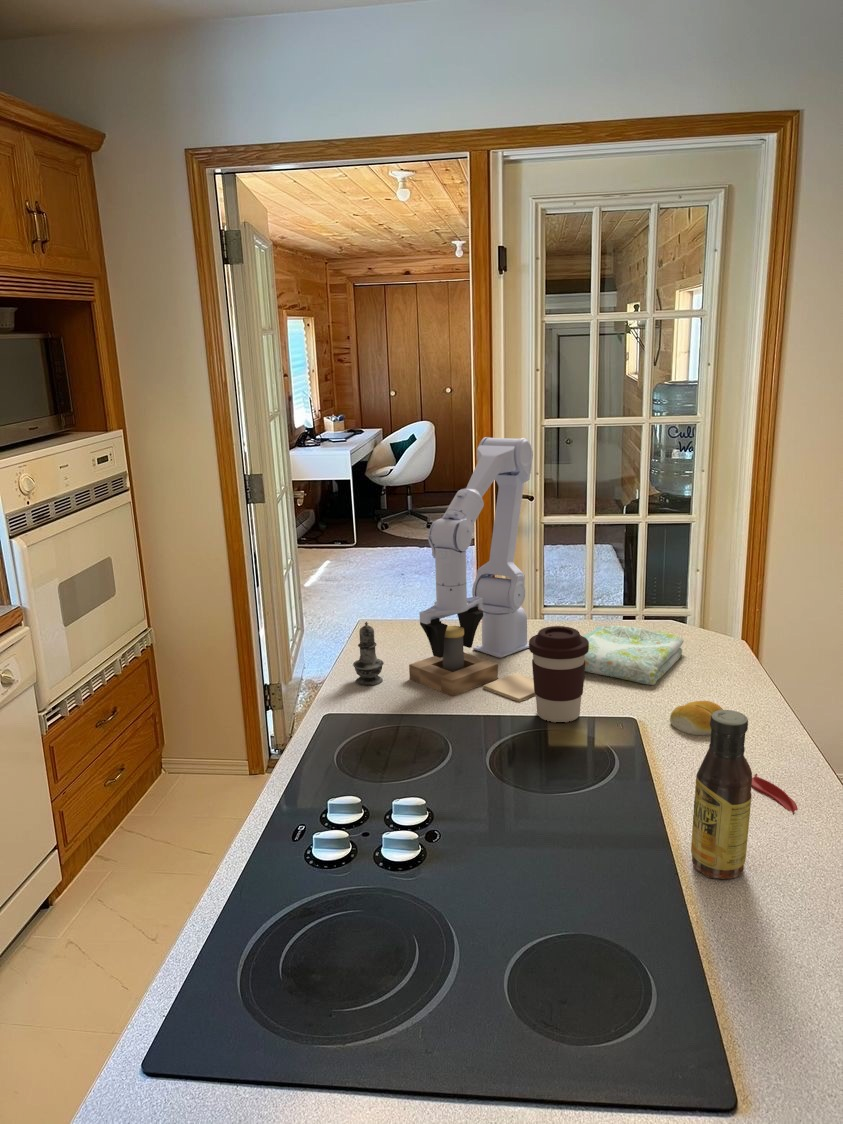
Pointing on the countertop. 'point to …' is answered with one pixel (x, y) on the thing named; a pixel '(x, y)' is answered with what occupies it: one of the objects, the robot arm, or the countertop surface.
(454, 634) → the plug
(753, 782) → the cayenne pepper
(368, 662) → the salt shaker
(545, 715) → the coffee cup
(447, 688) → the wooden square frame
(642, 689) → the countertop surface
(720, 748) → the sauce bottle
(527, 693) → the coaster
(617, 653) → the towel
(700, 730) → the bread roll
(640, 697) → the countertop surface
